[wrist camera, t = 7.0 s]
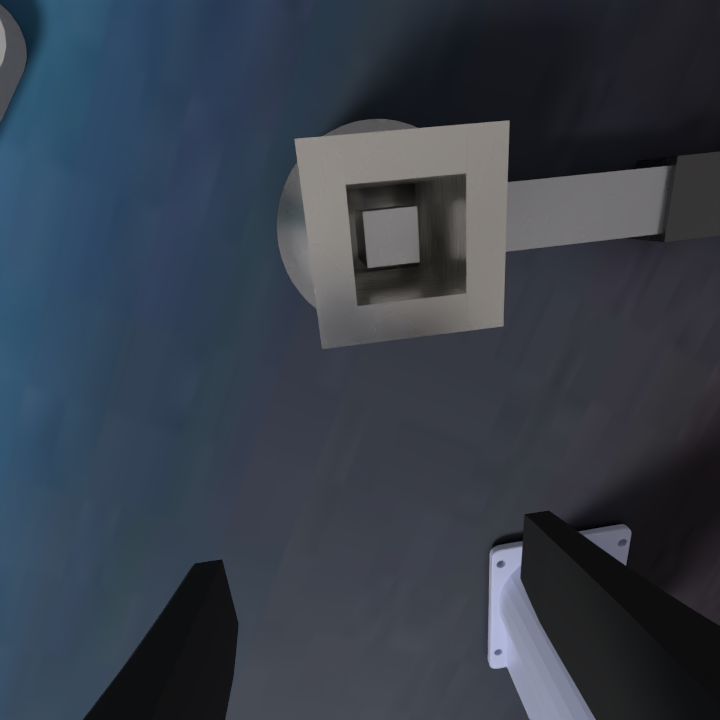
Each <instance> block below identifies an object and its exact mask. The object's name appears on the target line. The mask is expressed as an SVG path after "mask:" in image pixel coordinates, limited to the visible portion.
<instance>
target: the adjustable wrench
mask: <svg viewBox="0 0 720 720" xmlns="http://www.w3.org/2000/svg"><path fill="white" fill-rule="evenodd" d="M26 60H27V52H26V43H25V40H24V37H23V35H22V32H21V30H20V27H19V26H18V24H17V23H16V21H15V20H14V18H13V17H12V15H11V14H10V13H9V12H8V11H7V10H6V9H5V8H4V7H3V6H2V5H1V4H0V123H1V121H2V118H3V116H4V114H5V112H6V110H7V107H8V105H9V103H10V101H11V99H12V96H13V94H14V92H15V90H16V87H17V85H18V83H19V81H20V79H21V76H22V74H23V72H24V69H25V64H26Z"/></svg>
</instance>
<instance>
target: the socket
mask: <svg viewBox="0 0 720 720" xmlns="http://www.w3.org/2000/svg"><path fill="white" fill-rule="evenodd" d="M509 123H510V120H508V121H496V122H485V123H473V124H461V125H450V126H438V127H427V128H415V129H403V130H392V131H380V132H368V133H357V134H345V135H334V136H322V137H310V138H299V139H295V146H296V154H297V161H298V169H299V177H300V184H301V192H302V199H303V207H304V215H305V222H306V230H307V237H308V245H309V253H310V260H311V268H312V276H313V283H314V291H315V298H316V306H317V314H318V321H319V329H320V336H321V344H322V349H327V348H335V347H343V346H350V345H358V344H366V343H374V342H382V341H390V340H398V339H406V338H414V337H422V336H430V335H438V334H446V333H454V332H462V331H469V330H477V329H485V328H493V327H501V326H503V317H504V284H505V252H506V220H507V187H508V155H509ZM410 183H414V186H415V206H417V213H418V235H419V258H420V262H418V266H414V267H405V268H397V269H388V270H379V271H370V272H361V273H354V267H353V256H352V246H351V236H350V225H349V215H348V204H347V194H346V190H348V189H358V188H369V187H379V186H389V185H400V184H410Z"/></svg>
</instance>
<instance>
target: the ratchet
mask: <svg viewBox="0 0 720 720" xmlns="http://www.w3.org/2000/svg"><path fill="white" fill-rule="evenodd" d="M415 128H417V127H415V126H413V125H410V124H407V123H403V122H400V121H395V120H388V119H368V120H361V121H356V122H352V123H349V124H346V125H343V126H341V127H339V128H337V129H335V130H333V131H331V132H329V133H327V134H326V135H324V136H334V135H345V134H357V133H368V132H380V131H392V130H403V129H415ZM346 194H347V204H348V215H349V225H350V236H351V246H352V256H353V267H354V273H361V272H370V271H379V270H388V269H397V268H405V267H414V266H418V262H420V258H419V235H418V213H417V206H415V186H414V183H410V184H400V185H389V186H379V187H369V188H358V189H348V190H346ZM277 236H278V244H279V249H280V253H281V257H282V260H283V263H284V266H285V268H286V271H287V273H288V274H289V276H290V278H291V280H292V282H293V283H294V285H295V286H296V288H297V289H298V291H299V292H300V293H301V294H302V295H303V297H304V298H305V299H306V300H307V301H308V302H309V303H310V304H311V305H313V306H314V307H315V308H316V309H317V306H316V298H315V291H314V283H313V276H312V268H311V260H310V253H309V245H308V237H307V230H306V222H305V215H304V207H303V199H302V192H301V184H300V177H299V169H298V161H297V163H296V165H295V166H294V168H293V169H292V171H291V173H290V174H289V177H288V179H287V181H286V183H285V186H284V188H283V191H282V195H281V198H280V202H279V208H278V214H277ZM712 236H720V152H711V153H701V154H691V155H681V156H673V157H665V158H657V159H649V160H642V161H637V167H636V169H633V170H623V171H613V172H603V173H593V174H584V175H574V176H564V177H554V178H544V179H535V180H525V181H515V182H508V187H507V220H506V252H507V251H515V250H524V249H533V248H541V247H550V246H559V245H567V244H576V243H585V242H593V241H602V240H611V239H619V238H631V239H640V240H649V241H659V242H669V241H678V240H686V239H695V238H704V237H712Z"/></svg>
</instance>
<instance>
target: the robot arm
mask: <svg viewBox="0 0 720 720" xmlns="http://www.w3.org/2000/svg"><path fill="white" fill-rule="evenodd" d="M630 539H631V530H630V529H629V528H628V527H627V526H626V525H624V524H619V525H613V526H607V527H601V528H595V529H590V530H584V531H577V530H575V529H574V528H572V527H571V526H570V525H568V524H567V523H566V522H564V521H563V520H561V519H560V518H559V517H557V516H556V515H554V514H553V513H551V512H550V511H544V512H537V513H530V514H525V517H524V531H523V541H520V542H514V543H508V544H502V545H497V546H495V547H493V548H492V550H491V551H490V565H489V619H488V662H489V664H490V666H491V667H492V668H495V669H497V668H503V667H507V668H508V670H509V673H510V675H511V677H512V680H513V682H514V684H515V687H516V689H517V691H518V694H519V696H520V698H521V700H522V703H523V705H524V707H525V710H526V712H527V714H528V717H529V719H530V720H720V626H719V625H717V624H715V623H714V622H712V621H710V620H709V619H707V618H705V617H704V616H702V615H701V614H699V613H697V612H696V611H694V610H693V609H691V608H689V607H688V606H686V605H685V604H683V603H682V602H680V601H678V600H677V599H675V598H674V597H672V596H670V595H669V594H667V593H666V592H664V591H663V590H661V589H660V588H658V587H657V586H655V585H654V584H652V583H651V582H649V581H648V580H646V579H645V578H643V577H642V576H640V575H639V574H637V573H636V572H634V571H633V570H631V569H630V568H629V567H627V566H626V563H627V557H628V551H629V545H630ZM499 561H500V562H499ZM237 635H238V620H237V616H236V612H235V608H234V604H233V600H232V596H231V592H230V588H229V584H228V581H227V577H226V573H225V569H224V565H223V561H222V560H216V561H209V562H202V563H195V564H194V565H193V567H192V568H191V569H190V571H189V572H188V574H187V575H186V577H185V578H184V580H183V581H182V583H181V584H180V586H179V587H178V589H177V590H176V592H175V593H174V595H173V596H172V598H171V599H170V601H169V602H168V604H167V605H166V607H165V608H164V610H163V611H162V613H161V614H160V616H159V617H158V619H157V620H156V621H155V623H154V624H153V626H152V627H151V629H150V630H149V631H148V633H147V634H146V636H145V637H144V639H143V640H142V641H141V643H140V644H139V646H138V647H137V648H136V650H135V651H134V653H133V654H132V655H131V657H130V658H129V660H128V661H127V662H126V664H125V665H124V667H123V668H122V669H121V671H120V672H119V673H118V675H117V676H116V677H115V678H114V680H113V681H112V682H111V684H110V685H109V686H108V688H107V689H106V690H105V691H104V693H103V694H102V695H101V697H100V698H99V699H98V701H97V702H96V703H95V705H94V706H93V707H92V708H91V710H90V711H89V712H88V714H87V715H86V716H85V717H84V719H83V720H225V717H226V712H227V707H228V702H229V697H230V691H231V686H232V681H233V676H234V666H235V657H236V646H237Z"/></svg>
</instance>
